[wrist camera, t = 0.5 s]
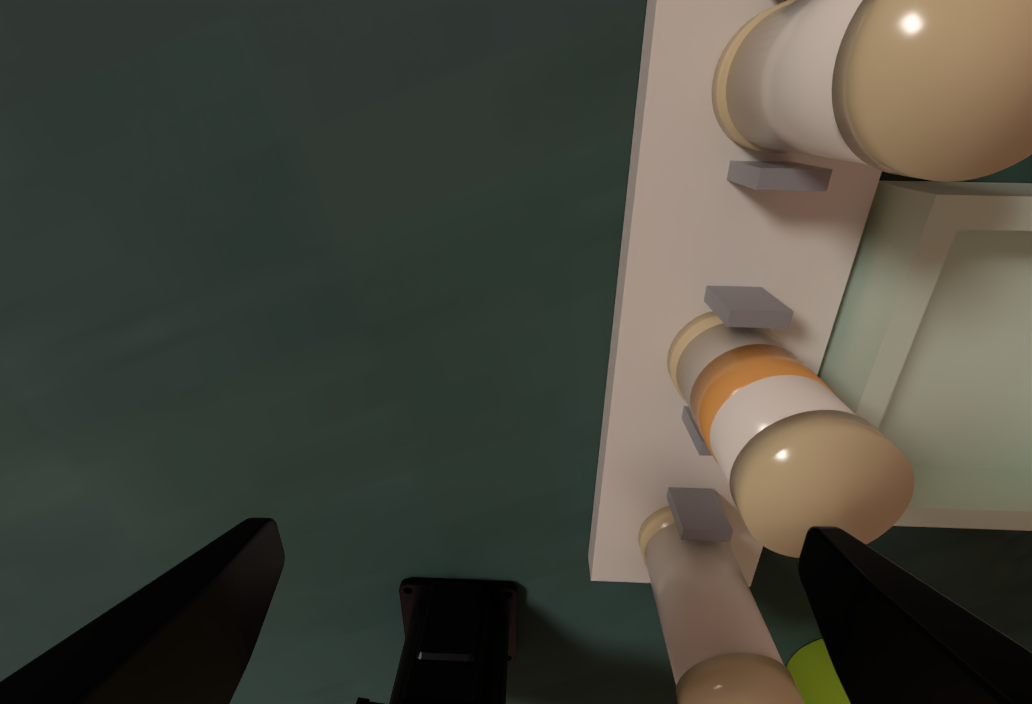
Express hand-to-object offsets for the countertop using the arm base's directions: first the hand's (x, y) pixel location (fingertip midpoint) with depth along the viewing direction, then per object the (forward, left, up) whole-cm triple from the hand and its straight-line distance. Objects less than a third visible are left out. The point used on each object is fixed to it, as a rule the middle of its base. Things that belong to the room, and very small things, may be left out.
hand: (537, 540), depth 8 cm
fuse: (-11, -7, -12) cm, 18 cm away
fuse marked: (-2, -7, -12) cm, 14 cm away
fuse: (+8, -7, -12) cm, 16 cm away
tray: (-2, -18, -13) cm, 22 cm away
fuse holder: (-2, -7, -13) cm, 15 cm away
